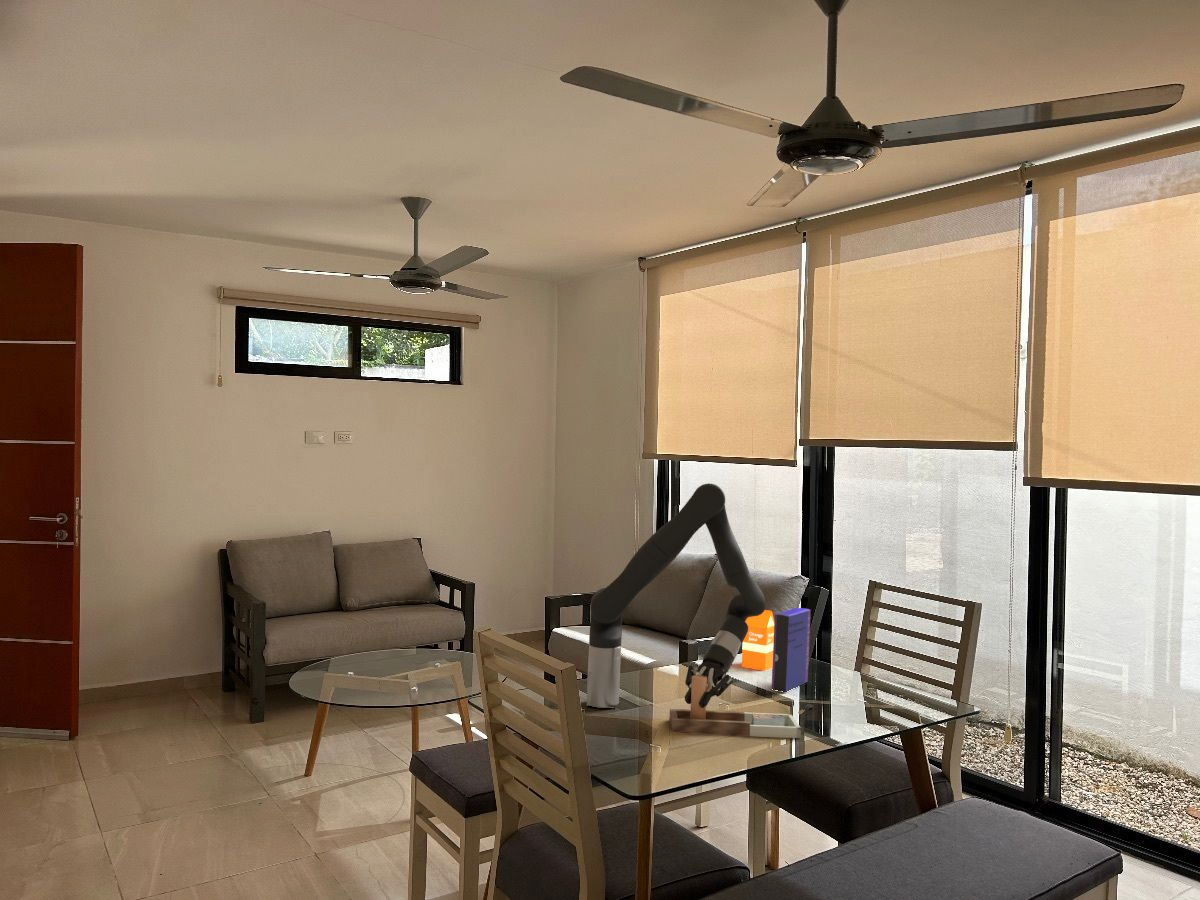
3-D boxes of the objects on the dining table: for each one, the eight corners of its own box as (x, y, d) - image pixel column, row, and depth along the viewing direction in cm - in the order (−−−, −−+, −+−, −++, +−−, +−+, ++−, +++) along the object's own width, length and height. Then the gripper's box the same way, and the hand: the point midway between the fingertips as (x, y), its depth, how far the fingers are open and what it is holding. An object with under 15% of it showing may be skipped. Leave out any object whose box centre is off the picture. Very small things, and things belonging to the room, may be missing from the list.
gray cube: (768, 733, 236) (769, 718, 236) (766, 729, 240) (767, 714, 240) (783, 734, 236) (784, 719, 236) (781, 729, 240) (782, 714, 240)
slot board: (672, 736, 232) (673, 721, 232) (668, 722, 244) (669, 707, 244) (749, 739, 232) (750, 724, 232) (742, 725, 244) (743, 710, 244)
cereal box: (793, 679, 296) (796, 607, 296) (807, 682, 294) (810, 609, 294) (771, 690, 282) (774, 613, 282) (785, 693, 279) (788, 615, 279)
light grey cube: (753, 733, 236) (753, 717, 236) (751, 728, 240) (752, 713, 240) (768, 733, 236) (769, 718, 236) (766, 729, 240) (767, 714, 240)
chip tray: (749, 739, 232) (750, 725, 232) (742, 725, 244) (743, 712, 244) (800, 741, 232) (800, 727, 232) (790, 727, 244) (791, 714, 244)
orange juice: (765, 670, 307) (767, 612, 307) (741, 666, 312) (743, 609, 312) (773, 666, 314) (776, 609, 314) (750, 662, 319) (752, 606, 319)
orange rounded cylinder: (690, 724, 236) (692, 678, 236) (689, 719, 240) (691, 674, 240) (706, 724, 236) (707, 679, 236) (704, 720, 240) (706, 675, 240)
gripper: (696, 638, 248) (666, 690, 240) (739, 647, 239) (710, 701, 230) (706, 655, 252) (678, 706, 243) (749, 664, 243) (721, 718, 234)
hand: (694, 703), depth 237 cm, fingers closed on orange rounded cylinder, 4 cm apart
